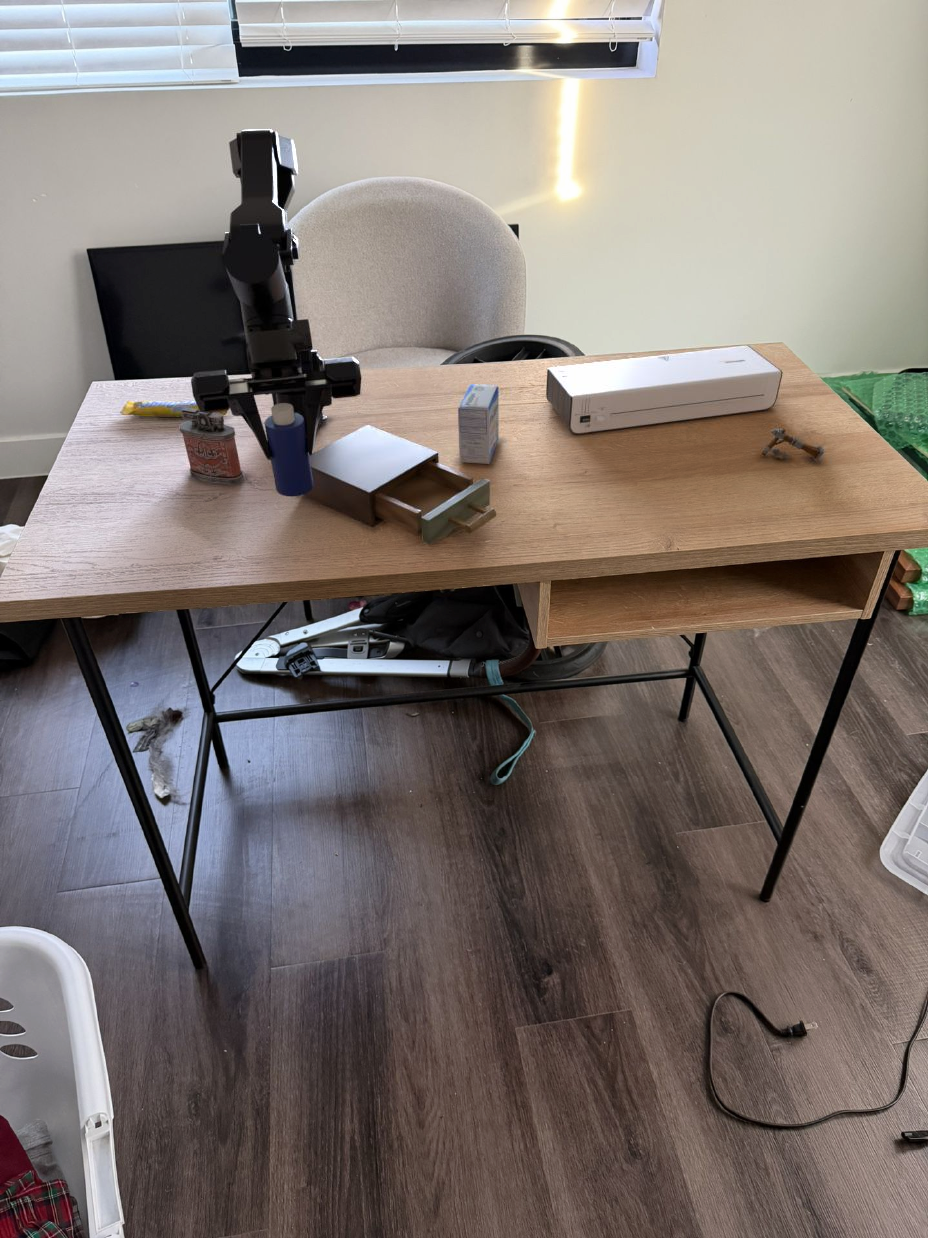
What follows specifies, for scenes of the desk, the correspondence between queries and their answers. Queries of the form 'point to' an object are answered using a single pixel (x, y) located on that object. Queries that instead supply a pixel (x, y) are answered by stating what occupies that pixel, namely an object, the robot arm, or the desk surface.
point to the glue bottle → (288, 451)
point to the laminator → (662, 389)
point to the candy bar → (159, 408)
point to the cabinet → (363, 470)
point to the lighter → (210, 447)
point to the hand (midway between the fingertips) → (289, 456)
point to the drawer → (434, 502)
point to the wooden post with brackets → (780, 434)
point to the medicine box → (478, 423)
